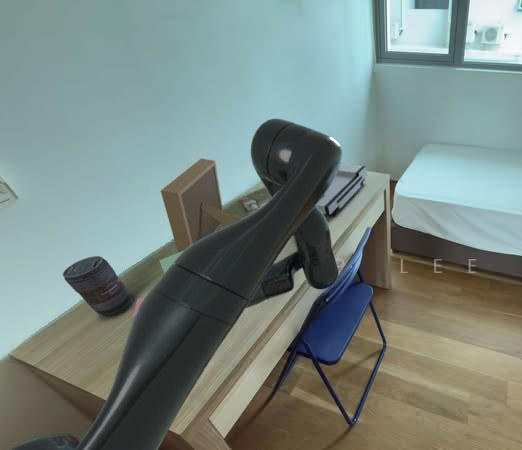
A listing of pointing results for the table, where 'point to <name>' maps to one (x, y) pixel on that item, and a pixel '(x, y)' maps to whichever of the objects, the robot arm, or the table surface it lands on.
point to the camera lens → (99, 286)
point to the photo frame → (195, 204)
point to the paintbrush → (249, 203)
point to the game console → (342, 188)
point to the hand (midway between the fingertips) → (143, 322)
